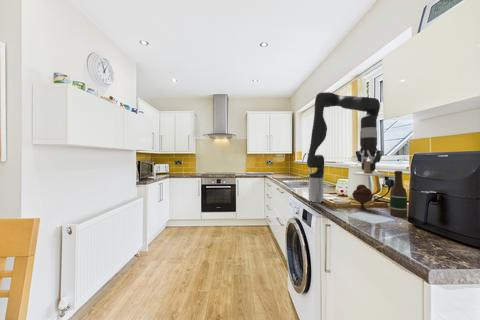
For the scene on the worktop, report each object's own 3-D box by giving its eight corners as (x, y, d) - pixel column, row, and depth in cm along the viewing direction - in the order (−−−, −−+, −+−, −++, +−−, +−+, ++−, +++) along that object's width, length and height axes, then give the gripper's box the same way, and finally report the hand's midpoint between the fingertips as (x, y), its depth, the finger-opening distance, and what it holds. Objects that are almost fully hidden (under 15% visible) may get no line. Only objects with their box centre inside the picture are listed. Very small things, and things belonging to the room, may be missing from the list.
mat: (342, 215, 118) (342, 214, 118) (363, 212, 124) (363, 211, 124) (373, 225, 101) (373, 223, 101) (396, 221, 107) (396, 219, 107)
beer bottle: (393, 214, 120) (393, 170, 120) (410, 217, 114) (410, 171, 114) (386, 216, 116) (386, 170, 116) (403, 219, 110) (403, 171, 109)
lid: (346, 174, 116) (346, 161, 116) (365, 173, 121) (365, 160, 121) (371, 176, 103) (371, 161, 103) (391, 175, 108) (391, 161, 108)
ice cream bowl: (348, 209, 133) (347, 184, 133) (360, 207, 137) (360, 183, 137) (364, 213, 123) (364, 186, 123) (377, 210, 128) (377, 185, 128)
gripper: (351, 138, 117) (351, 170, 117) (376, 135, 104) (376, 171, 104) (361, 138, 120) (361, 169, 120) (387, 136, 107) (387, 171, 107)
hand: (368, 170), depth 112 cm, fingers closed on lid, 4 cm apart
